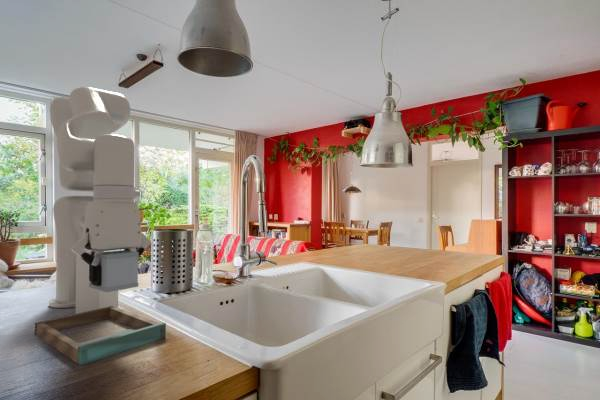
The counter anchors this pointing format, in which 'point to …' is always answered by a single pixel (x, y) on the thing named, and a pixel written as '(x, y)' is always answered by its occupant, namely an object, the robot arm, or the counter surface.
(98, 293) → the milk carton
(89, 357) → the bay
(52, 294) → the counter surface
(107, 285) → the grey block
